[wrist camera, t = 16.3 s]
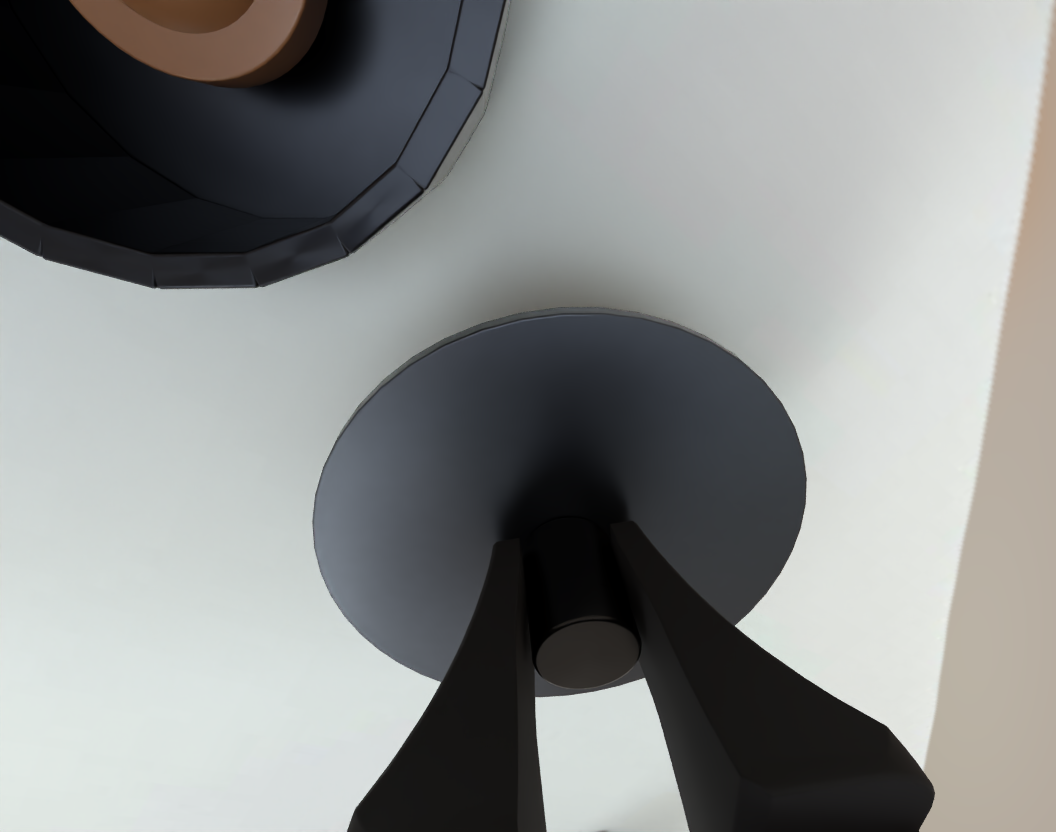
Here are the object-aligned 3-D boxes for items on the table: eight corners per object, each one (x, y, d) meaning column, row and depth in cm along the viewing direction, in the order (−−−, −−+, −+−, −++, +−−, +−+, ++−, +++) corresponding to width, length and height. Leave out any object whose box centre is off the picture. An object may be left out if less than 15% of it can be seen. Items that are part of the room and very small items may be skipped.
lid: (437, 704, 18) (425, 851, 14) (221, 403, 12) (96, 523, 8) (795, 606, 17) (884, 737, 13) (768, 216, 11) (924, 253, 7)
